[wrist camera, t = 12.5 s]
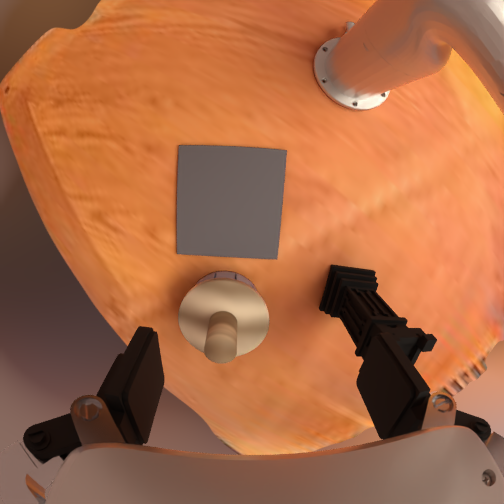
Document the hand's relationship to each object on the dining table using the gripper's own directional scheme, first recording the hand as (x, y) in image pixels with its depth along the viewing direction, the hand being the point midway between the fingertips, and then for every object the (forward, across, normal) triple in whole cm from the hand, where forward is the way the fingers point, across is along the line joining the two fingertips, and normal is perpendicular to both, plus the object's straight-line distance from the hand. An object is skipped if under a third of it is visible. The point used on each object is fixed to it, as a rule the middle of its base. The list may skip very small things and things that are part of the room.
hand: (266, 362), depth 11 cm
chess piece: (+31, -17, +11) cm, 37 cm away
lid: (+25, +3, +14) cm, 29 cm away
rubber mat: (+30, +3, -2) cm, 31 cm away
